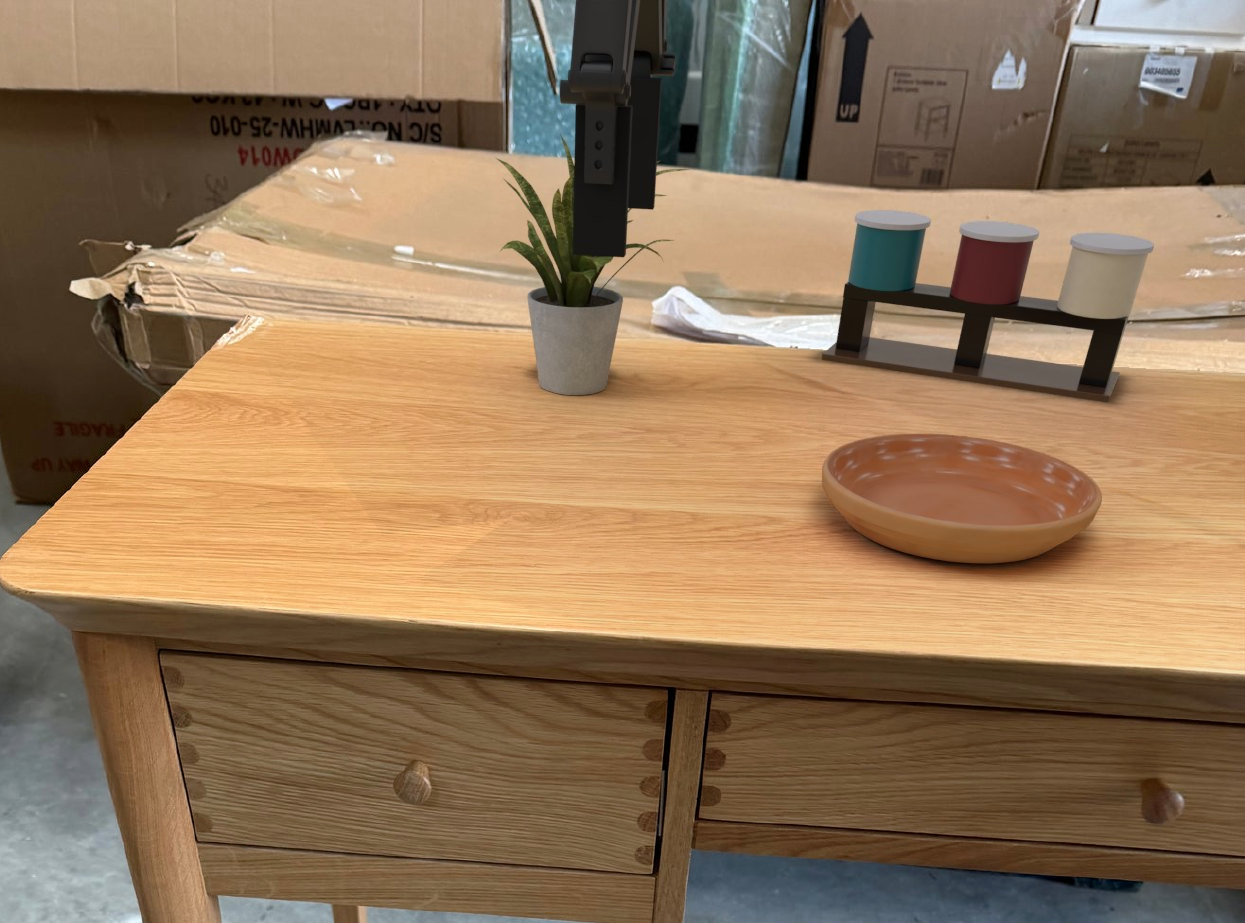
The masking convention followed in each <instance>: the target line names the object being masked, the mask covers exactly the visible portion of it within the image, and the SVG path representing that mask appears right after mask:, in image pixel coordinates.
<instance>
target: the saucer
mask: <svg viewBox="0 0 1245 923" xmlns="http://www.w3.org/2000/svg"><path fill="white" fill-rule="evenodd" d="M821 468H822V469H821V484H822V489H823V491H824V493H825V495H826V496H827V497H828V498H829V500H830V502H831V504H832V505H833V507H834V508H835V509H836V510H837V512H839V513H840V514H841V516H842V517H843V519H844V520H845V521H846V523H847V524H848V525H849V526H850V527H851V528H852V529H854V530H855V531H856V532H858V533H859V534H860V535H862V536H863V537H865V538H867V539H868V540H870V541H873V542H875V543H877V544H879V545H881V546H883V547H886V548H889V549H892V550H895V551H898V552H902V553H905V554H909V555H912V556H917V557H919V558H920V557H922V558H926V559H931V560H937V561H945V562H951V563H963V564H1003V563H1004V564H1005V563H1011V562H1013V563H1014V562H1018V561H1019V562H1020V561H1024V560H1028V559H1032V558H1035V557H1038V556H1041V555H1042V554H1045V553H1047V552H1048V551H1051V550H1052V549H1054V548H1055V547H1058V545H1061V544H1063V543H1066V542H1068V541H1069V540H1071V539H1072V538H1073V537H1075V536H1076V535H1077V534H1078V533H1079V534H1080V533H1081V532H1083V531H1084V530H1086V529H1087V528H1088V527H1089V526H1090V525H1091V524H1092V523H1093V521H1094V519H1095V517H1096V515H1097V514H1098V511H1099V509H1100V508H1101V505H1102V501H1103V495H1102V490H1101V489H1100V487H1099V485H1098V484H1097V483H1096V481H1094V479H1093V478H1092V477H1091V476H1089V475H1088V474H1087V473H1086V472H1085V471H1083V470H1081V469H1079V468H1077V467H1076V466H1074V465H1072V464H1070V463H1069V462H1066V461H1064V460H1062V459H1060V458H1057V457H1056V456H1053V455H1050V454H1047V453H1045V452H1041V451H1039V450H1036V449H1031V448H1028V447H1026V446H1025V447H1024V446H1023V445H1022V446H1021V445H1018V444H1012V443H1009V442H1004V441H1000V440H994V439H988V438H982V437H974V436H967V435H966V436H965V435H958V434H946V433H896V434H885V435H877V436H871V437H866V438H861V439H857V440H854V441H850V442H848V443H846V444H845V443H844V444H842V445H840V446H839V447H837V448H835V449H834V450H832V451H831V452H830V453H829V454H828V455H827V456H826V457H825V459H824V461H823V464H822V467H821Z"/></svg>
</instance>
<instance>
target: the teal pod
mask: <svg viewBox="0 0 1245 923" xmlns="http://www.w3.org/2000/svg"><path fill="white" fill-rule="evenodd" d="M931 222H932V219H931V218H930V217H929V216H927V215H924V214H920V213H916V212H912V211H911V212H910V211H905V210H904V211H902V210H893V209H892V210H891V209H890V210H889V209H873V210H872V209H870V210H863V211H859V212H857V213H855V215H854V223H856V229H855V235H854V241H853V248H852V252H851V259H850V266H849V273H848V280H847V282H848V281H849V283H850V284H852V285H854V286H857V287H860V288H864V289H870V290H878V291H903V290H909V289H912V288H914V287H915V284H916V283H917V279H918V273H919V267H920V262H921V257H922V251H923V247H924V241H925V236H926V231H927V229H928V228H930V227H931Z"/></svg>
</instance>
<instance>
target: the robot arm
mask: <svg viewBox="0 0 1245 923" xmlns="http://www.w3.org/2000/svg"><path fill="white" fill-rule="evenodd" d="M667 7H668V0H575V6H574V19H573V29H572V30H573V32H572V42H571V43H572V44H571V56H570V68H569V69H568V70H567V79H560V81H559V102H560V104H562V105H563V104H564V105H568V104H569V105H575V115H574V116H575V120H574V121H575V122H574V158H573V159H574V161H573V163H574V207H573V255H590V256H608V257H613V258H625V256H626V255H627V249H626V244H627V240H628V239H627V238H628V237H627V236H628V224H627V221H628V218H629V215H628V214H629V212H628V210H629V209H630V208H631V210H633V209H634V210H654V209H655V204H656V203H655V202H656V197H655V194H656V185H657V184H656V183H657V176H656V172H657V169H658V163H657V161H658V152H659V135H660V134H659V133H660V119H661V118H660V116H661V101H662V100H661V98H662V83H663V82H662V81H663V77H654V76H668V77H669V76H670V77H674V75H675V68H676V53H667V52H668V48H669V41H668V40H667V18H668V17H667V15H668V14H667V13H668V12H667V11H668V10H667V9H668V8H667Z"/></svg>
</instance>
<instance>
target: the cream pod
mask: <svg viewBox="0 0 1245 923" xmlns="http://www.w3.org/2000/svg"><path fill="white" fill-rule="evenodd" d="M1069 245H1070V246H1071V251H1070V254H1069V258H1068V262H1067V266H1066V270H1065V274H1064V278H1063V281H1062V284H1061V289H1060V293H1059V297H1058V300H1057V301H1058V304H1057V307H1058V309H1060V310H1061V311H1063V312H1066V313H1069V314H1072V315H1077V316H1082V317H1088V318H1098V319H1117V318H1123V317H1127V316H1130V315H1131V314H1132V313H1131V312H1132V308H1133V305H1134V303H1135V300H1136V295H1137V292H1138V288H1139V285H1140V282H1141V278H1142V275H1143V272H1144V269H1145V265H1146V261H1147V258H1148V255H1149V254H1151V253H1152V252H1153V251H1154V249H1155V248H1154V247H1155V243H1154V242H1152V241H1150V240H1149V239H1145V238H1142V237H1139V236H1133V235H1128V234H1121V233H1111V232H1110V233H1109V232H1083V233H1076V234H1074V235H1071V237H1070V240H1069Z"/></svg>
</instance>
